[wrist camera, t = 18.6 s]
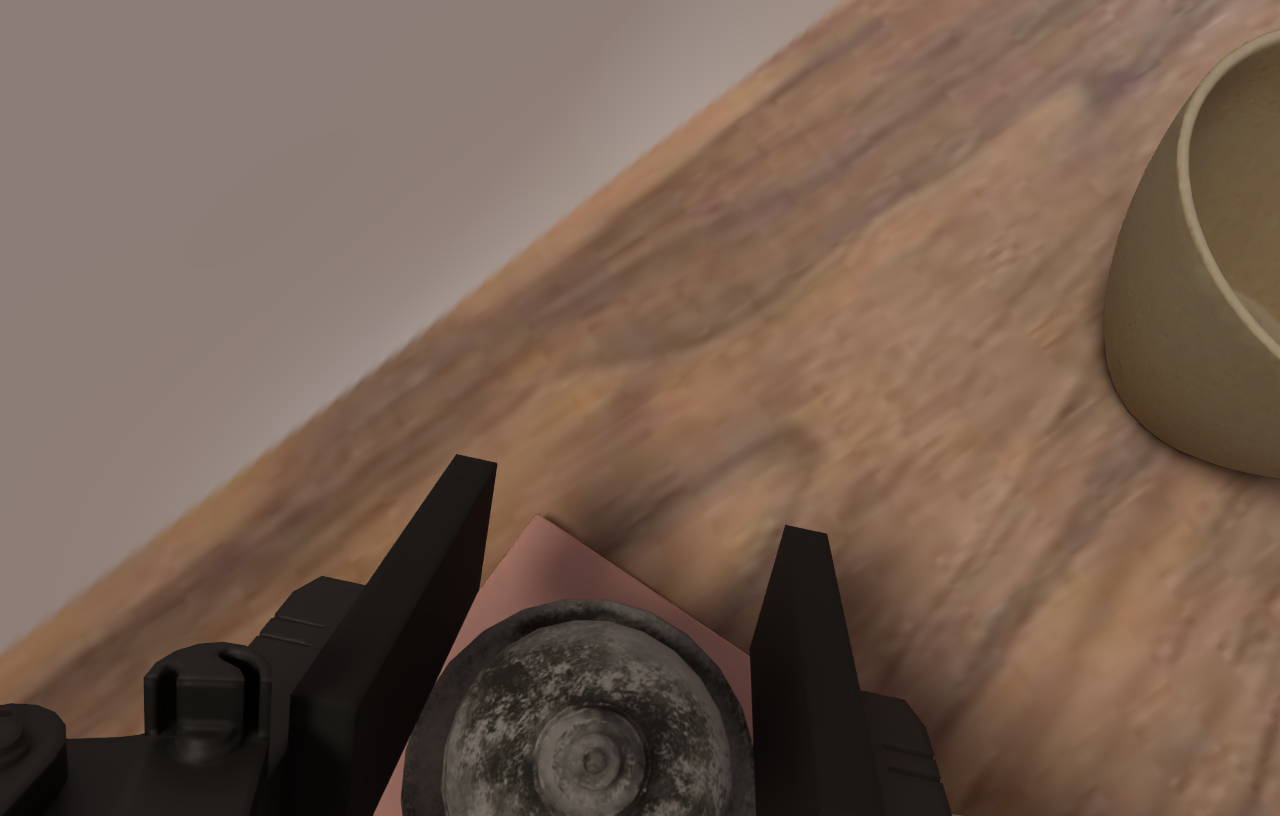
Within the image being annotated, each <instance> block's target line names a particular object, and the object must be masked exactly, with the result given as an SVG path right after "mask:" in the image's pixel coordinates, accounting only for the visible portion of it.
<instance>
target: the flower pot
mask: <svg viewBox="0 0 1280 816" xmlns="http://www.w3.org/2000/svg"><path fill="white" fill-rule="evenodd" d="M1104 340H1105V352H1106V359H1107V365H1108V369H1109V372H1110V376H1111V379H1112V382H1113V384H1114V387H1115V389H1116V391H1117V393H1118V395H1119V397H1120V398H1121V400H1122V402H1123V403H1124V404H1125V406H1126V407H1127V409H1128V410H1129V412H1130V413H1131V414H1132V415H1133V416H1134V417H1135V418H1136V419H1137V420H1138V421H1139V422H1140V423H1141V425H1143V426H1144V427H1145V428H1146V429H1147V430H1148V431H1149V432H1151V433H1152V434H1153V435H1155V436H1156V437H1157V438H1159V439H1160V440H1161V441H1163V442H1164V443H1166V444H1168V445H1170V446H1171V447H1173V448H1175V449H1177V450H1179V451H1182V452H1184V453H1186V454H1189V455H1191V456H1193V457H1196V458H1199V459H1202V460H1204V461H1207V462H1210V463H1213V464H1216V465H1219V466H1223V467H1226V468H1230V469H1234V470H1238V471H1242V472H1246V473H1251V474H1255V475H1260V476H1265V477H1271V478H1278V479H1280V29H1278V30H1275V31H1272V32H1269V33H1266V34H1264V35H1261V36H1259V37H1257V38H1255V39H1253V40H1251V41H1249V42H1246V43H1245V44H1243V45H1242V46H1240V47H1239V48H1237V49H1235V50H1234V51H1232V52H1231V53H1229V54H1228V55H1227V56H1226V57H1224V58H1223V59H1222V60H1221V61H1220V62H1219V63H1218V64H1217V65H1216V66H1215V67H1214V68H1213V69H1212V70H1211V71H1210V72H1209V73H1208V74H1207V75H1206V76H1205V78H1204V79H1203V80H1202V81H1201V83H1200V84H1199V85H1198V87H1197V88H1196V89H1195V91H1194V92H1193V93H1192V95H1191V96H1190V97H1189V99H1188V100H1187V101H1186V103H1185V104H1184V105H1183V107H1182V108H1181V110H1180V111H1179V113H1178V114H1177V116H1176V118H1175V119H1174V121H1173V122H1172V124H1171V125H1170V127H1169V129H1168V130H1167V132H1166V134H1165V135H1164V137H1163V139H1162V140H1161V142H1160V144H1159V146H1158V148H1157V150H1156V151H1155V153H1154V155H1153V157H1152V159H1151V161H1150V163H1149V164H1148V166H1147V168H1146V170H1145V172H1144V174H1143V176H1142V179H1141V181H1140V183H1139V185H1138V187H1137V190H1136V192H1135V194H1134V197H1133V199H1132V201H1131V203H1130V206H1129V209H1128V211H1127V214H1126V216H1125V219H1124V222H1123V224H1122V228H1121V231H1120V234H1119V237H1118V240H1117V244H1116V247H1115V251H1114V256H1113V260H1112V264H1111V268H1110V273H1109V279H1108V285H1107V292H1106V299H1105V310H1104Z"/></svg>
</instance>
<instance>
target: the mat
mask: <svg viewBox="0 0 1280 816" xmlns="http://www.w3.org/2000/svg"><path fill="white" fill-rule="evenodd" d="M563 599H596V600H611V601H615V602H618V603H622V604H625V605H628V606H632V607H635V608H639V609H642V610H646V611H649V612H651V613H653V614H655V615H656V616H658V617H660V618H661V619H663V620H665V621H666V622H668V623H670V624H671V625H673V626H674V627H676V628H678V629H679V630H681V631H683V632H684V633H686V634H688V635H689V636H690V637H691V638H692V639H693V640H694V642H695V643H696V644H697V645H698V646H699V647H700V648H701V649H702V650H703V651H704V652H705V653H706V654H707V655H708V656H709V657H710V658H711V659H712V660H713V661H714V662H715V663H716V664H717V665H718V666H719V668H720V669H721V671H722V673H723V675H724V676H725V678H726V680H727V681H728V683H729V685H730V687H731V688H732V690H733V692H734V694H735V695H736V697H737V699H738V701H739V702H740V704H741V706H742V708H743V711H744V715H745V718H746V722H747V725H748V729H749V732H750V736H751V739H752V743H753V724H752V697H751V671H750V656H749V655H747V654H746V653H744V652H743V651H741V650H740V649H738V648H737V647H735V646H734V645H732V644H731V643H729V642H728V641H726V640H725V639H723V638H722V637H720V636H719V635H718V634H716V633H715V632H713V631H712V630H710V629H709V628H707V627H706V626H704V625H703V624H701V623H700V622H698V621H697V620H695V619H694V618H692V617H691V616H689V615H688V614H686V613H685V612H683V611H682V610H680V609H679V608H677V607H676V606H675V605H673V604H672V603H670V602H669V601H667V600H666V599H664V598H663V597H661V596H660V595H658V594H657V593H655V592H654V591H652V590H651V589H649V588H648V587H646V586H645V585H643V584H642V583H640V582H639V581H637V580H636V579H634V578H633V577H631V576H630V575H629V574H627V573H626V572H624V571H623V570H621V569H620V568H618V567H617V566H615V565H614V564H612V563H611V562H609V561H608V560H606V559H605V558H603V557H602V556H600V555H599V554H597V553H596V552H594V551H593V550H591V549H590V548H588V547H587V546H586V545H584V544H583V543H581V542H580V541H578V540H577V539H575V538H574V537H572V536H571V535H569V534H568V533H566V532H565V531H563V530H562V529H560V528H559V527H557V526H556V525H554V524H553V523H551V522H550V521H548V520H547V519H545V518H544V517H542V516H541V515H540V514H536V515H535V516H534V518H533V519H532V520H531V522H530V523H529V524H528V526H527V527H526V528H525V530H524V531H523V532H522V534H521V535H520V536H519V538H518V539H517V540H516V542H515V543H514V544H513V546H512V547H511V549H510V550H509V551H508V553H507V554H506V555H505V557H504V558H503V559H502V561H501V562H500V563H499V565H498V566H497V567H496V569H495V570H494V571H493V573H492V574H491V575H490V577H489V578H488V580H487V581H486V582H485V584H484V585H483V586H482V588H481V589H480V590H479V592H478V593H477V595H476V597H475V600H474V602H473V604H472V606H471V608H470V610H469V612H468V615H467V617H466V619H465V621H464V623H463V625H462V627H461V629H460V632H459V634H458V636H457V638H456V640H455V642H454V644H453V646H452V649H451V651H450V653H449V655H448V657H447V659H446V661H445V663H444V666H443V668H442V670H441V672H440V674H439V676H438V678H439V677H440V675H441V674H442V672H443V671H444V669H445V668H446V666H447V665H448V663H449V662H450V661H451V660H452V659H453V658H454V657H455V656H457V655H458V654H459V653H460V652H461V651H462V650H463V649H464V648H465V647H466V646H467V645H469V644H470V643H471V642H472V641H473V640H474V639H475V638H476V637H477V636H478V635H479V634H480V633H482V632H483V631H484V630H486V629H488V628H489V627H491V626H493V625H495V624H497V623H499V622H501V621H502V620H504V619H506V618H508V617H510V616H512V615H513V614H515V613H517V612H519V611H521V610H523V609H526V608H530V607H535V606H539V605H543V604H547V603H551V602H555V601H559V600H563ZM438 678H437V680H438ZM409 739H410V738H409ZM408 742H409V740H408ZM408 742H407V744H406V747H407V745H408ZM406 747H405V749H404V751H403V753H402V755H401V757H400V759H399V761H398V764H397V766H396V768H395V770H394V772H393V774H392V776H391V778H390V781H389V783H388V785H387V787H386V789H385V791H384V793H383V795H382V798H381V800H380V802H379V804H378V806H377V808H376V810H375V812H374V815H373V816H403V815H402V808H401V801H400V800H401V790H402V781H403V771H404V761H405V751H406ZM755 816H756V813H755Z"/></svg>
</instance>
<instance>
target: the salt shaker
mask: <svg viewBox="0 0 1280 816" xmlns="http://www.w3.org/2000/svg"><path fill="white" fill-rule="evenodd" d="M400 801H401V808H402V815H403V816H755V813H756V804H755V778H754V751H753V743H752V739H751V736H750V732H749V729H748V725H747V722H746V718H745V715H744V711H743V708H742V706H741V704H740V702H739V701H738V699H737V697H736V695H735V694H734V692H733V690H732V688H731V687H730V685H729V683H728V681H727V680H726V678H725V676H724V675H723V673H722V671H721V669H720V668H719V666H718V665H717V664H716V663H715V662H714V661H713V660H712V659H711V658H710V657H709V656H708V655H707V654H706V653H705V652H704V651H703V650H702V649H701V648H700V647H699V646H698V645H697V644H696V643H695V642H694V640H693V639H692V638H691V637H690V636H689V635H688V634H686V633H684V632H683V631H681V630H679V629H678V628H676V627H674V626H673V625H671V624H670V623H668V622H666V621H665V620H663V619H661V618H660V617H658V616H656V615H655V614H653V613H651V612H649V611H646V610H642V609H639V608H635V607H632V606H628V605H625V604H622V603H618V602H615V601H611V600H596V599H563V600H559V601H555V602H551V603H547V604H543V605H539V606H535V607H530V608H526V609H523V610H521V611H519V612H517V613H515V614H513V615H512V616H510V617H508V618H506V619H504V620H502V621H501V622H499V623H497V624H495V625H493V626H491V627H489V628H488V629H486V630H484V631H483V632H482V633H480V634H479V635H478V636H477V637H476V638H475V639H474V640H473V641H472V642H471V643H470V644H469V645H467V646H466V647H465V648H464V649H463V650H462V651H461V652H460V653H459V654H458V655H457V656H455V657H454V658H453V659H452V660H451V661H450V662H449V663H448V665H447V666H446V668H445V669H444V671H443V672H442V674H441V675H440V677H439V678H438V680H437V681H436V683H435V685H434V687H433V689H432V691H431V693H430V695H429V698H428V700H427V702H426V704H425V706H424V708H423V710H422V712H421V715H420V717H419V719H418V721H417V723H416V725H415V727H414V729H413V732H412V734H411V736H410V739H409V742H408V745H407V747H406V751H405V761H404V771H403V781H402V790H401V800H400Z"/></svg>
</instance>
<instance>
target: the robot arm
mask: <svg viewBox="0 0 1280 816" xmlns="http://www.w3.org/2000/svg"><path fill="white" fill-rule="evenodd" d="M496 470H497V463H495V462H490V461H486V460H481V459H476V458H472V457H467V456H462V455H458V454H456V455H455V457H454V458H453V460H452V461H451V463H450V464H449V466H448V467H447V468H446V470H445V471H444V473H443V474H442V476H441V477H440V479H439V480H438V482H437V483H436V484H435V486H434V487H433V489H432V490H431V492H430V493H429V495H428V496H427V497H426V499H425V500H424V502H423V503H422V505H421V506H420V508H419V509H418V510H417V512H416V513H415V515H414V516H413V518H412V519H411V521H410V522H409V524H408V525H407V526H406V528H405V529H404V531H403V532H402V534H401V535H400V537H399V538H398V539H397V541H396V542H395V544H394V545H393V547H392V548H391V550H390V551H389V552H388V554H387V555H386V557H385V558H384V560H383V561H382V563H381V564H380V566H379V567H378V568H377V570H376V571H375V573H374V574H373V576H372V577H371V579H370V580H369V581H368V583H367V584H366V585H362V584H357V583H353V582H348V581H343V580H339V579H334V578H330V577H325V576H321V577H319V578H317V579H315V580H313V581H312V582H310V583H308V584H306V585H304V586H303V587H301V588H299V589H297V590H295V591H294V592H292V594H291V595H290V596H289V597H288V599H287V600H286V601H285V602H284V603H283V605H282V606H281V607H280V608H279V610H278V611H277V612H276V613H275V617H274V618H271V619H270V621H269V622H268V623H267V624H266V625H265V627H264V628H263V629H262V630H261V632H260V635H259V636H256V638H255V639H254V640H253V641H252V642H251V644H250V645H249V646H248V647H247V646H245V645H239V644H233V643H227V642H216V643H202V644H197V645H193V646H190V647H187V648H183V649H180V650H177V651H175V652H173V653H171V654H170V655H168V656H166V657H165V658H163V659H161V660H160V661H158V662H156V663H155V664H154V666H153V667H152V668H151V669H150V671H149V672H148V673H147V674H146V675H145V677H144V719H145V733H144V734H141V735H134V736H125V737H111V738H82V739H66V726H65V724H64V722H63V721H62V720H61V719H60V717H59V716H58V715H57V714H56V713H55V712H53V711H51V710H48V709H46V708H43V707H40V706H38V705H30V704H12V703H11V704H5V705H0V816H373V815H374V812H375V810H376V808H377V806H378V804H379V802H380V800H381V798H382V795H383V793H384V791H385V789H386V787H387V785H388V783H389V781H390V778H391V776H392V774H393V772H394V770H395V768H396V766H397V764H398V761H399V759H400V757H401V755H402V753H403V751H404V749H405V747H406V744H407V742H408V740H409V738H410V736H411V734H412V732H413V729H414V727H415V725H416V723H417V721H418V719H419V717H420V715H421V712H422V710H423V708H424V706H425V704H426V702H427V700H428V698H429V695H430V693H431V691H432V689H433V687H434V685H435V683H436V681H437V678H438V676H439V674H440V672H441V670H442V668H443V666H444V663H445V661H446V659H447V657H448V655H449V653H450V651H451V649H452V646H453V644H454V642H455V640H456V638H457V636H458V634H459V632H460V629H461V627H462V625H463V623H464V621H465V619H466V617H467V615H468V612H469V610H470V608H471V606H472V604H473V602H474V600H475V597H476V595H477V593H478V591H479V587H480V580H481V573H482V566H483V559H484V552H485V546H486V539H487V532H488V525H489V518H490V511H491V504H492V498H493V491H494V484H495V477H496ZM750 671H751V697H752V724H753V751H754V778H755V804H756V816H952V814H951V810H950V807H949V804H948V800H947V797H946V794H945V790H944V787H943V783H940V778H941V777H940V773H939V770H938V767H937V763H936V760H933V756H934V753H933V750H932V747H931V743H930V740H929V737H928V733H927V730H926V727H925V726H924V724H923V723H922V722H921V720H920V719H919V718H918V716H917V715H916V714H915V713H914V711H913V710H912V709H911V707H910V706H909V705H908V703H907V702H906V701H905V700H902V699H898V698H893V697H888V696H884V695H879V694H875V693H870V692H865V691H861V690H860V688H859V683H858V678H857V673H856V669H855V664H854V659H853V654H852V650H851V645H850V640H849V635H848V631H847V626H846V621H845V616H844V612H843V607H842V602H841V597H840V593H839V588H838V583H837V579H836V574H835V569H834V564H833V560H832V555H831V550H830V545H829V541H828V536H827V534H826V533H821V532H816V531H812V530H807V529H802V528H798V527H793V526H788V525H785V528H784V531H783V535H782V538H781V542H780V545H779V549H778V552H777V556H776V559H775V563H774V566H773V570H772V573H771V577H770V580H769V583H768V587H767V590H766V594H765V597H764V601H763V604H762V608H761V611H760V615H759V618H758V622H757V625H756V629H755V632H754V635H753V639H752V642H751V646H750Z"/></svg>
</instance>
